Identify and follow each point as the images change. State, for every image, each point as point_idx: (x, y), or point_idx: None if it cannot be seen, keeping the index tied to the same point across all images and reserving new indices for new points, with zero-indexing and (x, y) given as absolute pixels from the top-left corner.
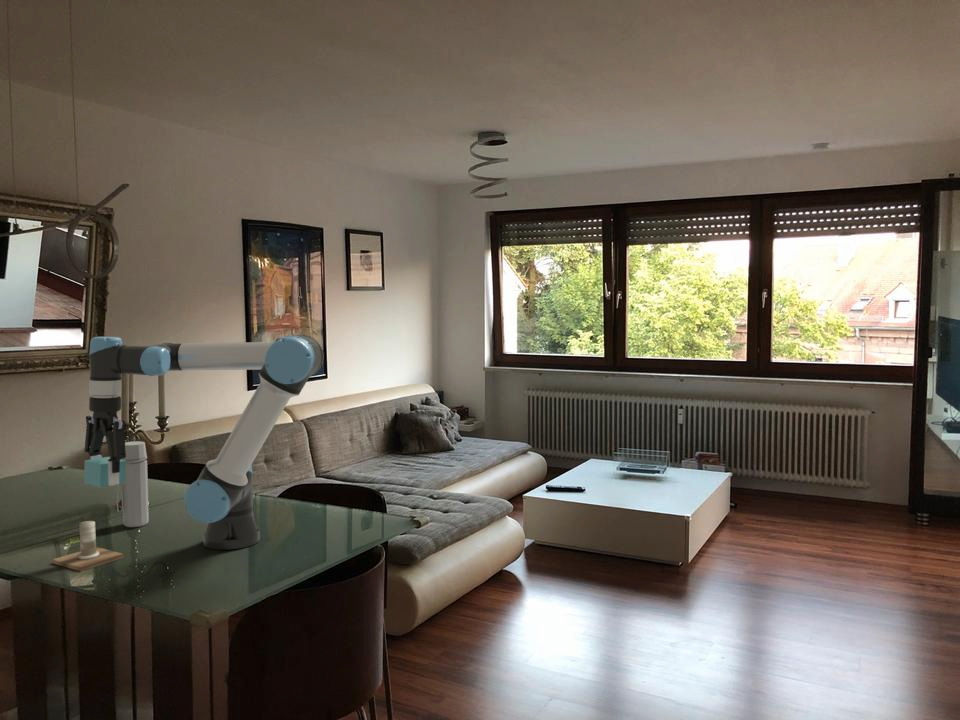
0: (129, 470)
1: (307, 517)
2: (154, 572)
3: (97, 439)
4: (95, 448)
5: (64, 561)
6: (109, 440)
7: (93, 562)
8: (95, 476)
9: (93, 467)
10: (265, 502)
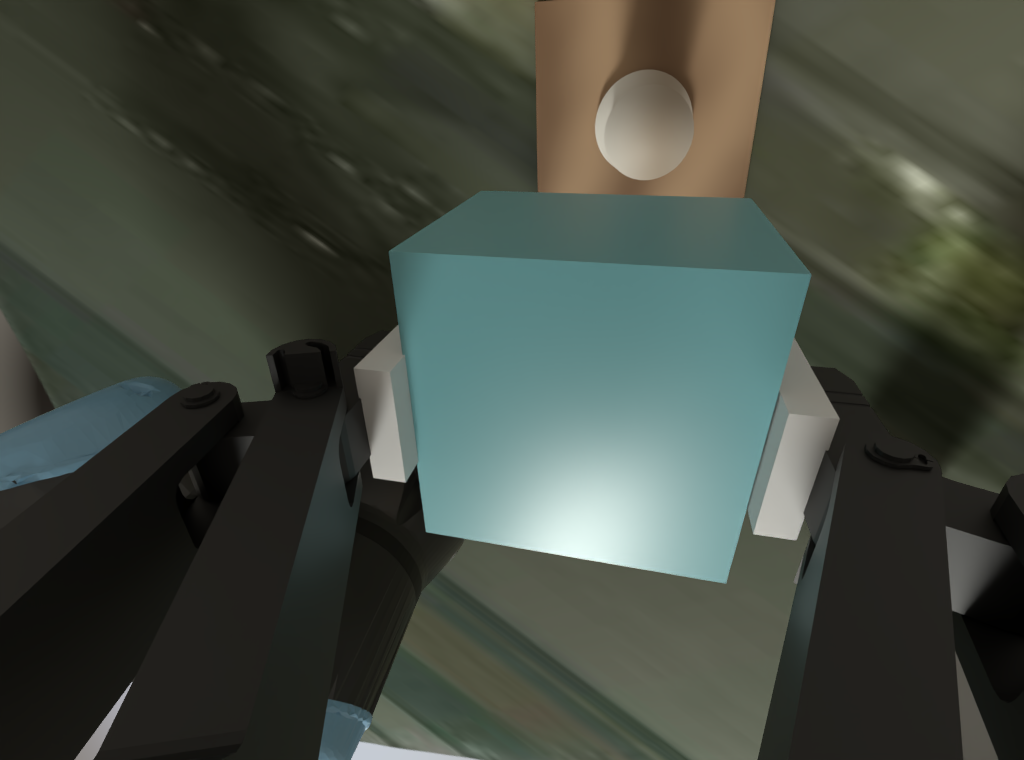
0: (977, 720)
1: (419, 686)
2: (302, 182)
3: (781, 730)
4: (814, 553)
5: (686, 4)
6: (170, 624)
7: (549, 86)
8: (535, 213)
9: (560, 240)
10: (629, 754)
